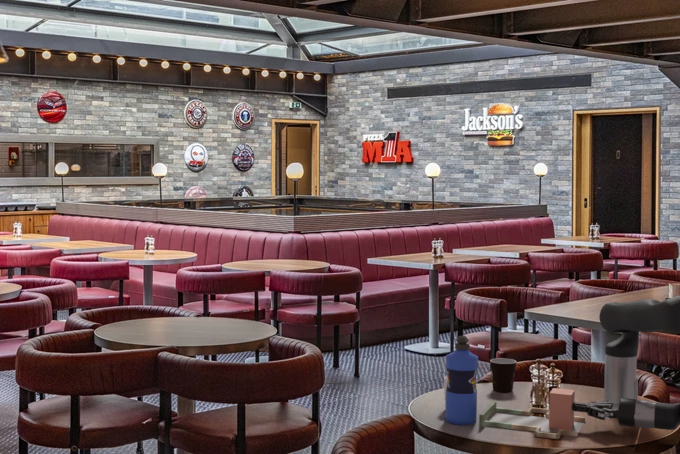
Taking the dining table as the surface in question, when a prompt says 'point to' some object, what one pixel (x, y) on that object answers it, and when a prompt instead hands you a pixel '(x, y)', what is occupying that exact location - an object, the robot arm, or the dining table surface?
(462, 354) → the water bottle
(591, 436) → the dining table surface
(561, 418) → the pink rectangular block
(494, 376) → the coffee mug
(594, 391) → the dining table surface
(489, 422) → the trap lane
